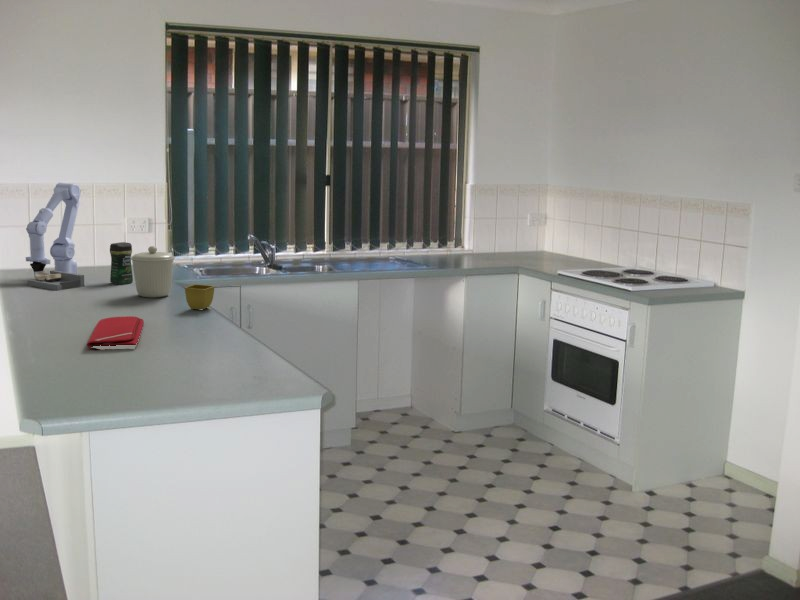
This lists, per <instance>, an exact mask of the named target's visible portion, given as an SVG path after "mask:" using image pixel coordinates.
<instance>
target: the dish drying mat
mask: <svg viewBox="0 0 800 600" xmlns="http://www.w3.org/2000/svg"><path fill="white" fill-rule="evenodd" d="M94 327H95V328H94V330H93V332H92V334H91V336H90V337H89V339H88V341H87V343H86V346H87V347H88V348H90V347H93V346H100V345H101V346H109V345H110V346H116V345H136V343H137V342H138V339H139V336H140V337H141V335H140V333H141V334H142V332H141V330H142V331H143V329H142V327H143V328H144V319H143V318H140V317H137V316H115V317H113V316H112V317H107V318H102V319H100V320H99V321H98V322H97V324H96V326H94ZM139 340H140V339H139Z"/></svg>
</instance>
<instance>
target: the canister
mask: <svg viewBox="0 0 800 600" xmlns="http://www.w3.org/2000/svg"><path fill="white" fill-rule="evenodd" d="M130 259H131V264H132V272H133V275H134V277H133V278H134V282H135V289H136V292H137V294H138V295H139V296H140V297H142V298H150V299H151V298H153V299H154V298H163V297H166V296H168V295H170V293H171V289H172V281H173V280H172V279H173V272H174V271H173V269H174V260H175V259H176V256H174V255H173V254H171V253H168V252H163V251H162V252H161V251H158V248H157V247H156V246H154V245H151V246H148V251H145V252H138V253H135V254H133V255H131V257H130Z"/></svg>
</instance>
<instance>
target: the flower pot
mask: <svg viewBox="0 0 800 600" xmlns="http://www.w3.org/2000/svg"><path fill="white" fill-rule="evenodd" d="M214 292H215V285H210V284H209V285H208V284H198V283H197V284H192V285H189V286H186V287H184V293H185V299H186V300H185V301H186V303H187V305H188V307H189V308H190V309H191V310H193V309H205V308H207V307H209V308H210V306H211V305H212V302H213V299H214ZM207 309H208V308H207ZM205 310H206V309H205Z"/></svg>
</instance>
